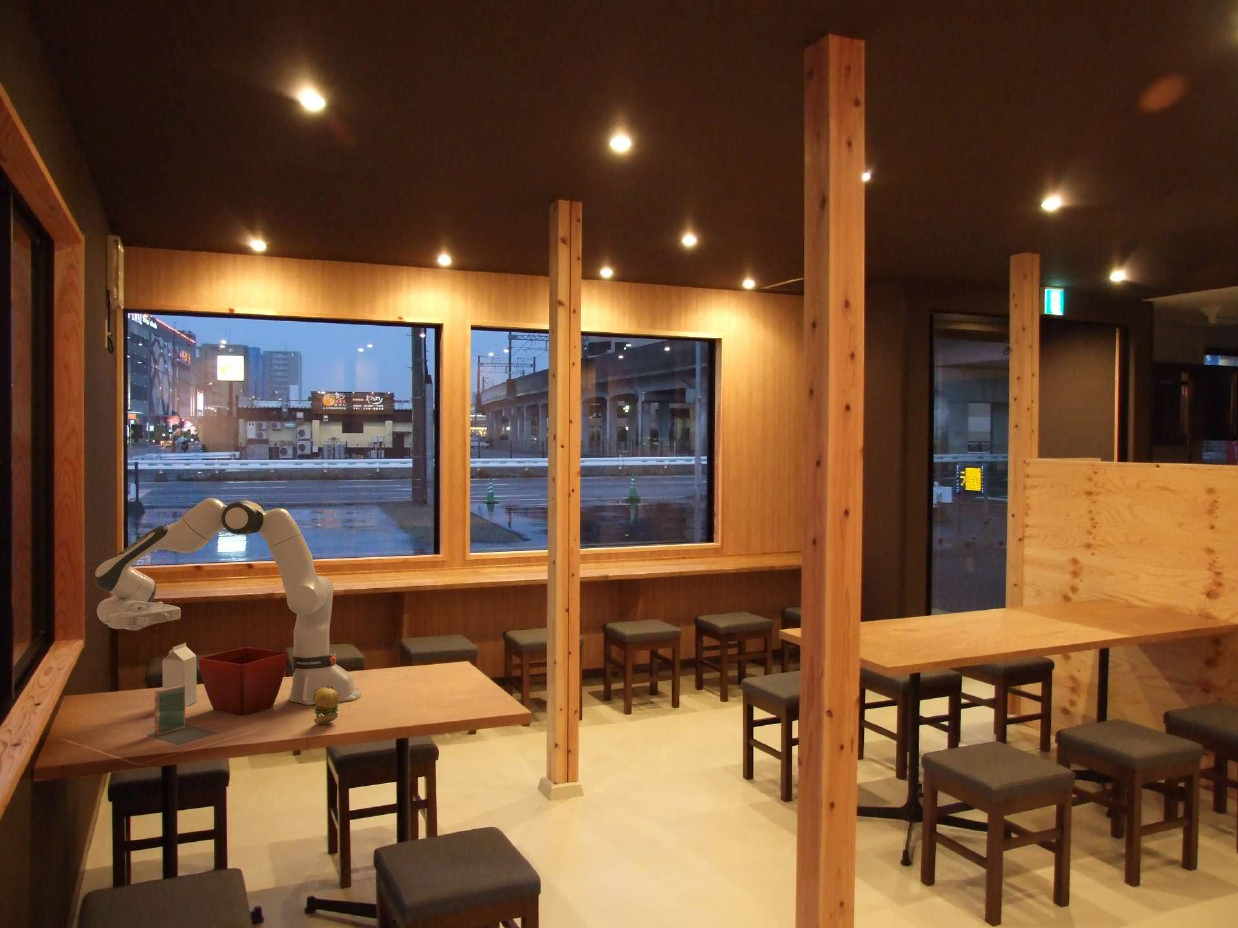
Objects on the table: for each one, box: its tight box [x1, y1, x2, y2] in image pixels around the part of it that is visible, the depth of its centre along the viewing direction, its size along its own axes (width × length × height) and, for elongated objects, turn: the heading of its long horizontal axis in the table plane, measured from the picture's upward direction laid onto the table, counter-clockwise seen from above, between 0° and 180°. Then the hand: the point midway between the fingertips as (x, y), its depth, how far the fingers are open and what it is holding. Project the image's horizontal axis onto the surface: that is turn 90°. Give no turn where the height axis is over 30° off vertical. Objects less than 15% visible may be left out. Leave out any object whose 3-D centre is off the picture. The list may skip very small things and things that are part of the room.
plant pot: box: [198, 646, 289, 716], centre depth 285 cm, size 19×19×17 cm
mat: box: [146, 723, 219, 745], centre depth 258 cm, size 16×12×1 cm
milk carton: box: [162, 642, 198, 708], centre depth 289 cm, size 7×7×19 cm
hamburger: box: [313, 685, 340, 725], centre depth 267 cm, size 8×7×12 cm
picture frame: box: [153, 685, 186, 735], centre depth 261 cm, size 2×8×12 cm, turn 146°
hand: (158, 619), depth 272 cm, fingers open, 4 cm apart
